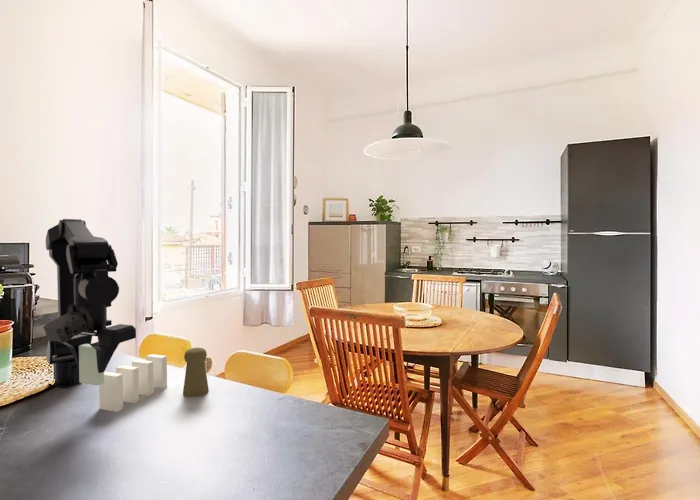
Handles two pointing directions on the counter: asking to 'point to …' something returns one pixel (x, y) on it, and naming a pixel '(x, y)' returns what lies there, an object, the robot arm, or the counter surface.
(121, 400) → the domino
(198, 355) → the cork
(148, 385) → the domino
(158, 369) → the domino
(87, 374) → the sage domino
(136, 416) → the counter surface
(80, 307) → the robot arm
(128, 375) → the domino
